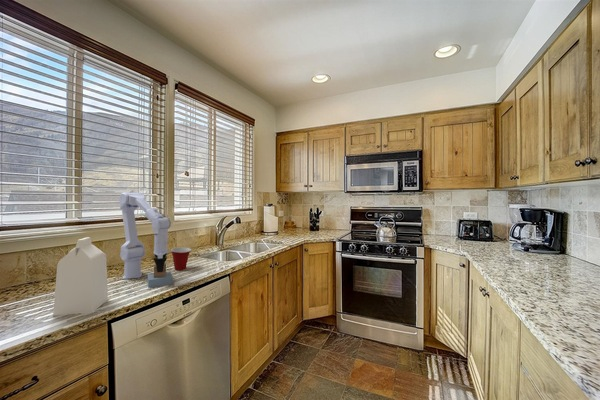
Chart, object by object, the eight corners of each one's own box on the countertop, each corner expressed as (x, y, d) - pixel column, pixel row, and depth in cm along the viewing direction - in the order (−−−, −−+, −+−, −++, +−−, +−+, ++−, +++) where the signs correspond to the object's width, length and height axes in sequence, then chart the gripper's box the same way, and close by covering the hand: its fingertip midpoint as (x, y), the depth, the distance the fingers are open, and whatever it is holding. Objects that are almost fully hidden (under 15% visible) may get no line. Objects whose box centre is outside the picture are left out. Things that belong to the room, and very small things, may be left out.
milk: (92, 312, 89) (94, 241, 89) (53, 315, 86) (54, 241, 86) (107, 299, 100) (109, 235, 100) (73, 301, 97) (75, 236, 97)
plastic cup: (182, 272, 137) (182, 251, 137) (165, 270, 140) (166, 249, 140) (194, 267, 148) (195, 247, 148) (179, 265, 150) (179, 246, 150)
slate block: (147, 282, 122) (147, 274, 122) (170, 279, 128) (170, 271, 128) (148, 288, 114) (148, 280, 114) (172, 285, 119) (172, 276, 119)
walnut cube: (154, 274, 122) (154, 264, 122) (165, 273, 124) (166, 263, 124) (153, 277, 117) (153, 267, 117) (165, 276, 120) (165, 266, 120)
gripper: (170, 244, 116) (169, 273, 116) (170, 239, 129) (169, 265, 129) (152, 245, 113) (152, 274, 113) (154, 240, 126) (153, 266, 126)
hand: (160, 269), depth 121 cm, fingers open, 7 cm apart
